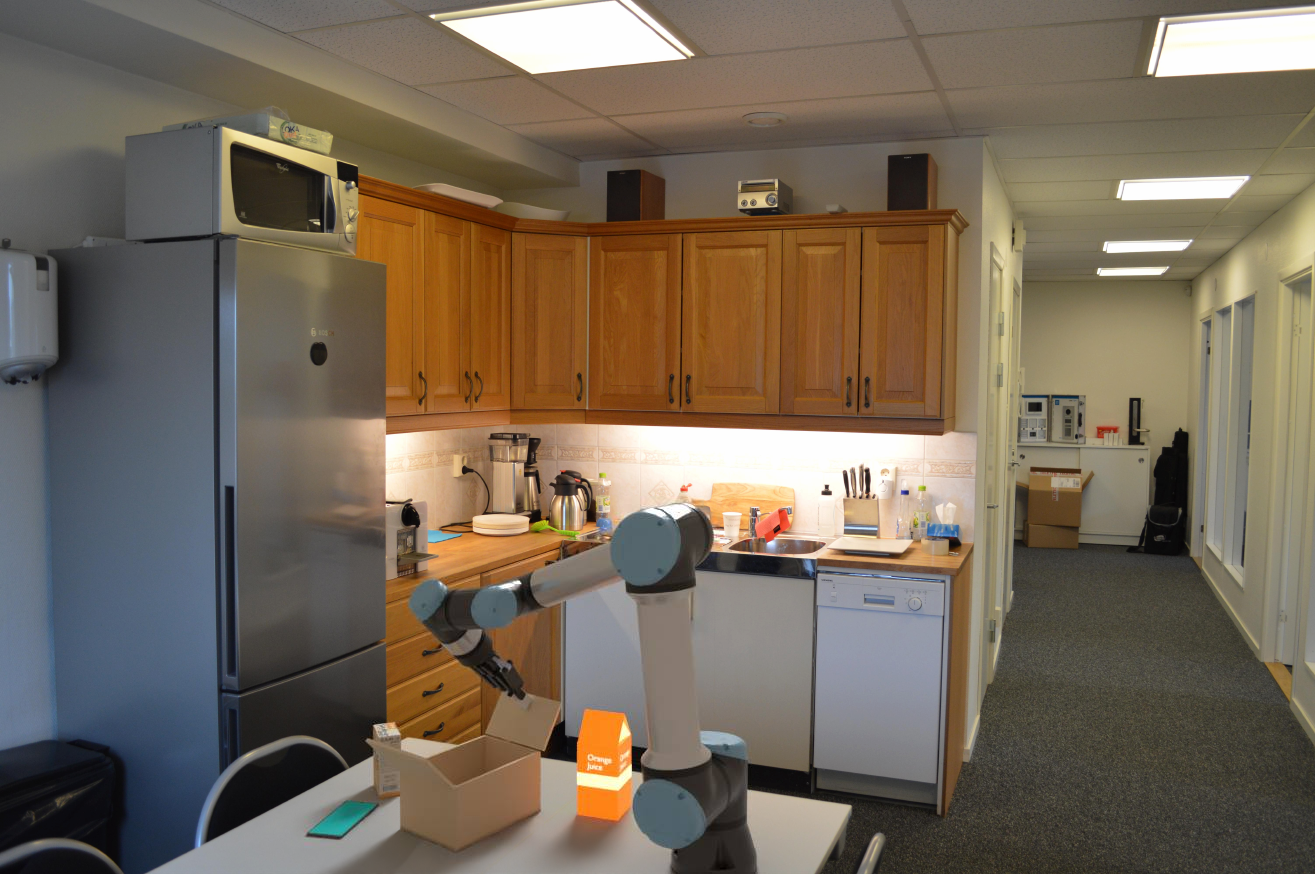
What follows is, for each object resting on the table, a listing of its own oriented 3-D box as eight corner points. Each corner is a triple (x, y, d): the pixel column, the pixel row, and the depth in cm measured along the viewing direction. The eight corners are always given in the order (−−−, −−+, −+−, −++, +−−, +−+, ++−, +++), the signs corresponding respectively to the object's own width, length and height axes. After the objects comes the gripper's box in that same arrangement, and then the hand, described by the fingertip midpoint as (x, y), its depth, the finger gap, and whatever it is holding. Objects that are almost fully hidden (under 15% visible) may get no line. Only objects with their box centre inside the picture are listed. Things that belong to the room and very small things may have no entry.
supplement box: (372, 784, 199) (372, 724, 199) (395, 781, 201) (395, 721, 201) (378, 799, 192) (377, 736, 191) (402, 795, 194) (401, 733, 193)
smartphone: (305, 833, 176) (346, 800, 190) (305, 837, 176) (346, 804, 190) (341, 836, 174) (379, 802, 189) (341, 841, 174) (379, 807, 189)
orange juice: (617, 820, 182) (617, 719, 181) (576, 814, 185) (576, 714, 184) (631, 804, 189) (631, 707, 189) (591, 798, 192) (591, 703, 192)
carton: (540, 810, 187) (540, 751, 186) (456, 852, 169) (456, 787, 169) (485, 790, 196) (485, 734, 196) (400, 828, 178) (399, 766, 178)
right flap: (542, 750, 186) (544, 751, 187) (560, 701, 190) (562, 702, 191) (485, 732, 196) (486, 733, 197) (503, 687, 200) (505, 688, 201)
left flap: (426, 758, 162) (424, 761, 162) (456, 787, 168) (454, 790, 168) (367, 737, 172) (365, 740, 172) (397, 766, 178) (395, 768, 178)
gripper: (500, 628, 179) (558, 694, 192) (454, 619, 186) (513, 683, 200) (479, 661, 174) (540, 726, 188) (433, 651, 182) (495, 714, 196)
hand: (526, 704), depth 194 cm, fingers closed
